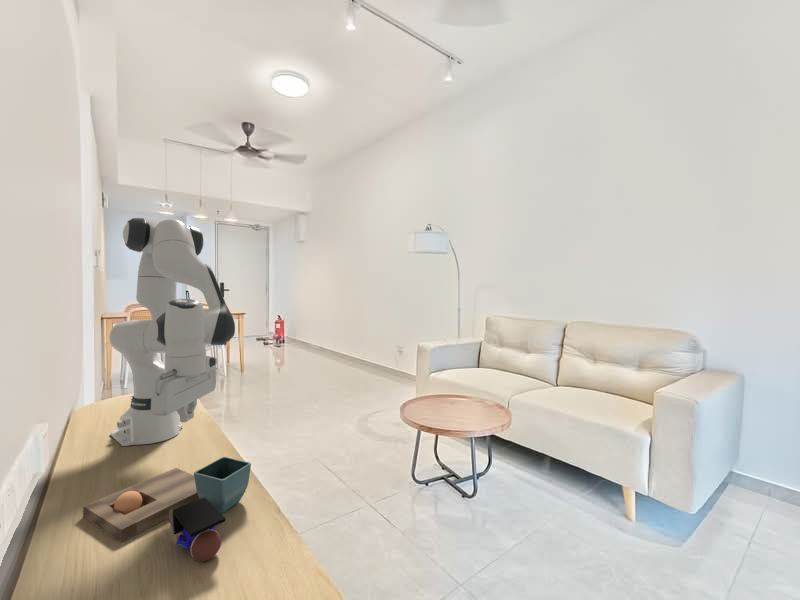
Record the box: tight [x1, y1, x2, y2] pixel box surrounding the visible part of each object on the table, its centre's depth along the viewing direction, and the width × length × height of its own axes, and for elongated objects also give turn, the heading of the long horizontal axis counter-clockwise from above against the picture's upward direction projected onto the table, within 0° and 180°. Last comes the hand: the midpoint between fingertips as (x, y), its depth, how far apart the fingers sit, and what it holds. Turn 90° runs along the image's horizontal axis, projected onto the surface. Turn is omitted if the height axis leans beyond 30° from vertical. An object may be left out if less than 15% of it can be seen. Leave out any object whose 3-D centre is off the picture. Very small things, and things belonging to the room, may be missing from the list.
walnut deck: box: [82, 467, 199, 543], centre depth 86 cm, size 16×20×2 cm
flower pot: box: [193, 456, 252, 514], centre depth 86 cm, size 9×9×9 cm
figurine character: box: [168, 497, 227, 562], centre depth 73 cm, size 7×8×15 cm
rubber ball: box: [114, 491, 143, 515], centre depth 82 cm, size 5×5×5 cm
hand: (186, 420), depth 93 cm, fingers closed
